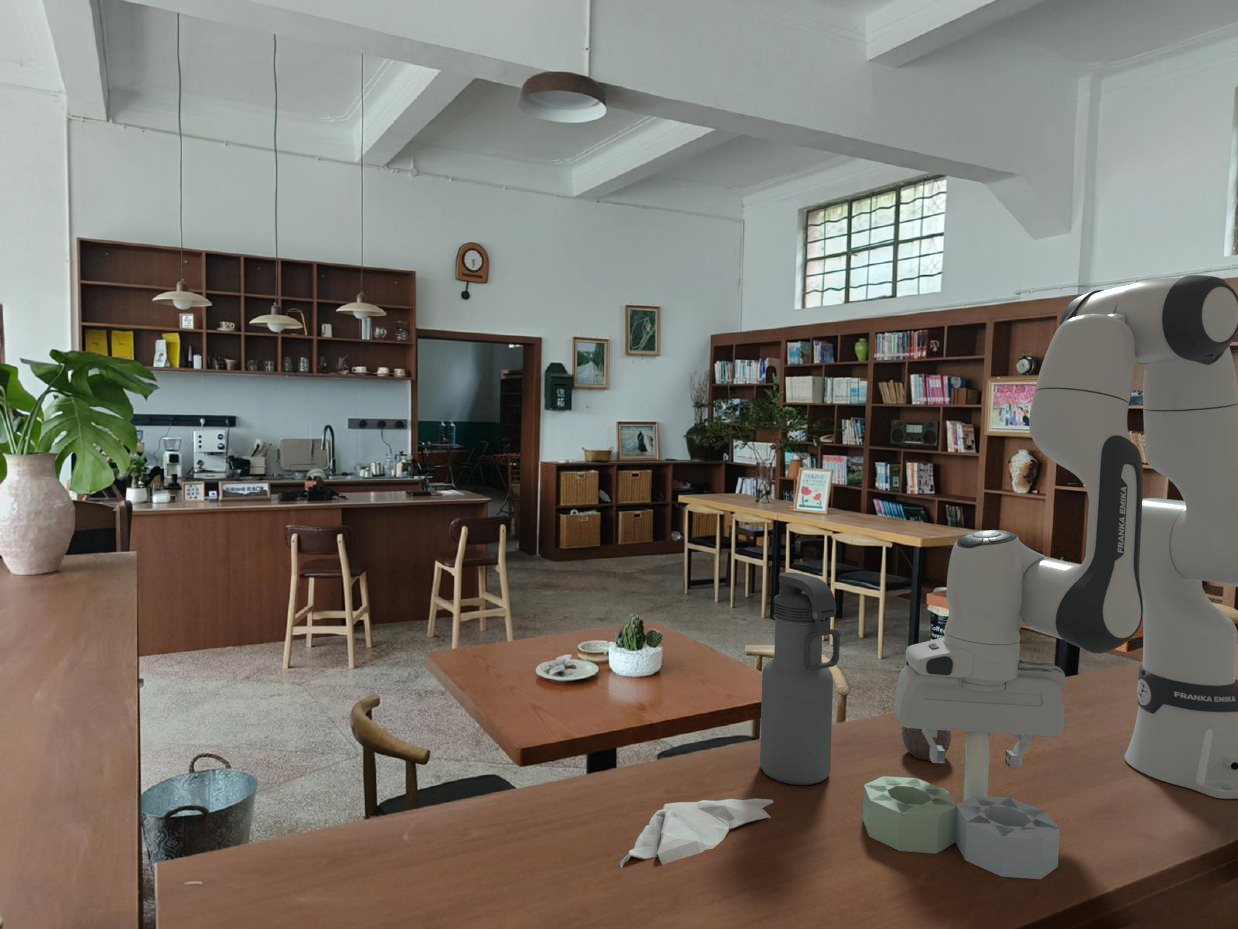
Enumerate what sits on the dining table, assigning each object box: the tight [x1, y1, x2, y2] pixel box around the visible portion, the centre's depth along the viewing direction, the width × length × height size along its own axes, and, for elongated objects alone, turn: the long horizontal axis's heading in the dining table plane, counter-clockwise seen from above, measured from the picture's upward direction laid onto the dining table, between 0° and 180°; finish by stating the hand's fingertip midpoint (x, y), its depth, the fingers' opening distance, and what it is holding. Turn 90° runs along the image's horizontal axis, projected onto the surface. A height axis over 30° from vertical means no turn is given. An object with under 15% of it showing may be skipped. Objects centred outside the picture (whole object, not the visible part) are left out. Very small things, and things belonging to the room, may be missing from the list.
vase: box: [901, 724, 952, 762], centre depth 124 cm, size 7×7×9 cm
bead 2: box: [954, 796, 1061, 880], centre depth 96 cm, size 10×10×4 cm
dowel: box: [963, 732, 991, 801], centre depth 106 cm, size 3×3×12 cm
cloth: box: [619, 798, 774, 869], centre depth 101 cm, size 26×14×2 cm, turn 117°
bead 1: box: [862, 776, 958, 855], centre depth 101 cm, size 10×10×4 cm
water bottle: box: [759, 571, 841, 786], centre depth 116 cm, size 10×10×28 cm
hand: (974, 764), depth 106 cm, fingers open, 8 cm apart
